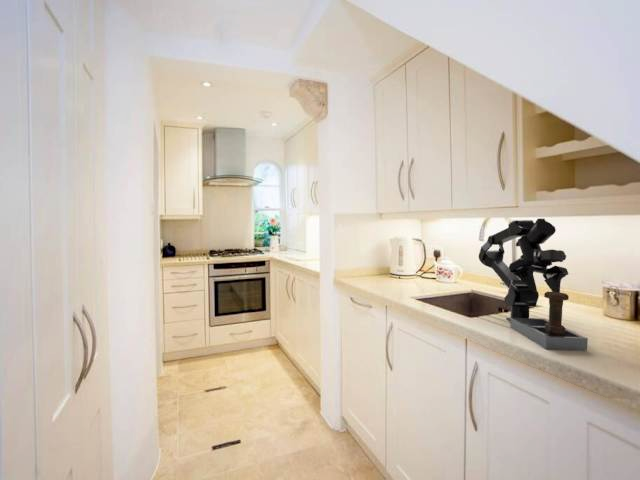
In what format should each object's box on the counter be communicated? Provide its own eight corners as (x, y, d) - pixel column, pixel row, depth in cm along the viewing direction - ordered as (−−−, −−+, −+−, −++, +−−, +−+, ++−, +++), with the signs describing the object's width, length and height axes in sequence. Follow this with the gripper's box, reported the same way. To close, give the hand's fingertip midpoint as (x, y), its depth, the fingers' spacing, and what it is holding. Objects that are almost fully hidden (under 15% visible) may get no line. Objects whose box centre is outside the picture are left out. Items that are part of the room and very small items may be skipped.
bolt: (565, 342, 98) (568, 293, 97) (566, 347, 93) (569, 295, 93) (542, 338, 101) (544, 290, 100) (542, 343, 97) (544, 293, 96)
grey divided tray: (510, 327, 112) (510, 317, 112) (544, 328, 111) (544, 318, 111) (545, 349, 92) (546, 337, 92) (587, 350, 91) (587, 338, 91)
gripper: (529, 233, 103) (545, 278, 95) (574, 245, 107) (593, 288, 99) (502, 250, 112) (515, 292, 104) (545, 260, 116) (560, 301, 108)
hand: (546, 293), depth 103 cm, fingers open, 9 cm apart
